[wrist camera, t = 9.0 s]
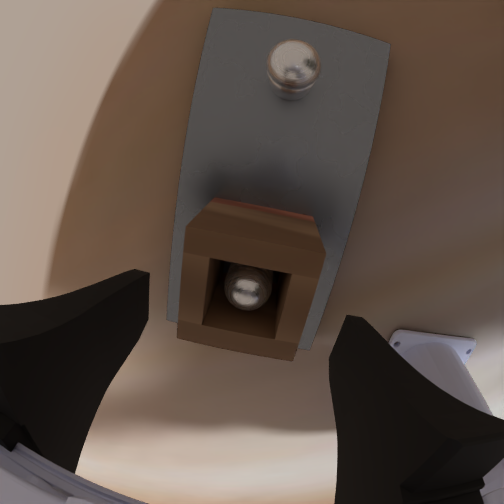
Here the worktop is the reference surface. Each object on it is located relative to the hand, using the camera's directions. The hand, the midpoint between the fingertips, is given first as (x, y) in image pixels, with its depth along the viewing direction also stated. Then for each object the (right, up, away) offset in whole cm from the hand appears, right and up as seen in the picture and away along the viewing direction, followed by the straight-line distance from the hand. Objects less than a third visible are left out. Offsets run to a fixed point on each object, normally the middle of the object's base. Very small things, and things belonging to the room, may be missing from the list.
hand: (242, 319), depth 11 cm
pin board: (+1, +6, +5) cm, 8 cm away
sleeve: (0, +2, +6) cm, 6 cm away
